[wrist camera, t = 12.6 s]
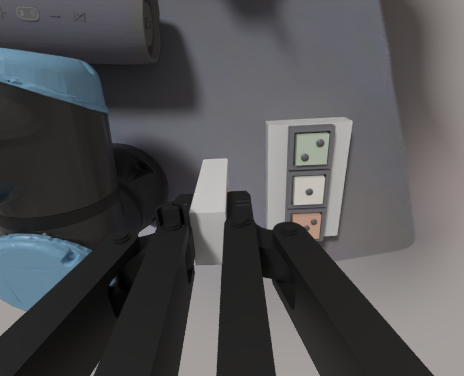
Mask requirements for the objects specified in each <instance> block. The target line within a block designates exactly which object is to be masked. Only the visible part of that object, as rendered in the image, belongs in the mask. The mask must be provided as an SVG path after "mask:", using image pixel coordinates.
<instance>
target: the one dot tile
mask: <svg viewBox="0 0 464 376" xmlns="http://www.w3.org/2000/svg"><path fill="white" fill-rule="evenodd" d="M324 185H325V177H324V175H323V174H320V175H299V176H292V198H291V199H292V202H293V204H294V205H309V204H323V195H324Z"/></svg>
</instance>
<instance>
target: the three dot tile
mask: <svg viewBox="0 0 464 376" xmlns="http://www.w3.org/2000/svg"><path fill="white" fill-rule="evenodd" d="M290 222H295V223H298V224H300V225H302V226H303V227H304V228H305V229H306V230H307V231H308V232H309V233H310V234H311V236H312V237H313V238H314V239H319V234H320V224H321V214H320V212H314V213H291V219H290Z"/></svg>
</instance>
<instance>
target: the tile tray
mask: <svg viewBox="0 0 464 376" xmlns="http://www.w3.org/2000/svg"><path fill="white" fill-rule="evenodd" d="M352 122H353V121H351V120H349V119H348V118H346V117H335V118H316V119H296V120H276V121H266V190H265V229H270V230H273V228H274V226H275V225H276V224H278V223H281V222H290V219H291V213H314V212H320V214H321V224H320V234H319V239H315V240H316V241H323V237H324V236H337V233H338V226H339V218H340V211H341V203H342V196H343V189H344V181H345V174H346V167H347V159H348V152H349V144H350V137H351V130H352ZM317 131H327V132H328V133H329V134H330V136H329V146H328V156H327V164H320V165H299V166H296V165H295V163H294V162H293V155H294V134H295V133H297V132H317ZM320 174H323V175H324V177H325V185H324V195H323V204H309V205H294V204H293V202H292V199H291V198H292V176H299V175H320Z"/></svg>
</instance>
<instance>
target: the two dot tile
mask: <svg viewBox="0 0 464 376" xmlns="http://www.w3.org/2000/svg"><path fill="white" fill-rule="evenodd" d="M329 136H330V134H329V133H328V132H327V131H317V132H297V133H295V134H294V155H293V162H294V163H295V165H296V166H299V165H320V164H327V156H328V146H329Z"/></svg>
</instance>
